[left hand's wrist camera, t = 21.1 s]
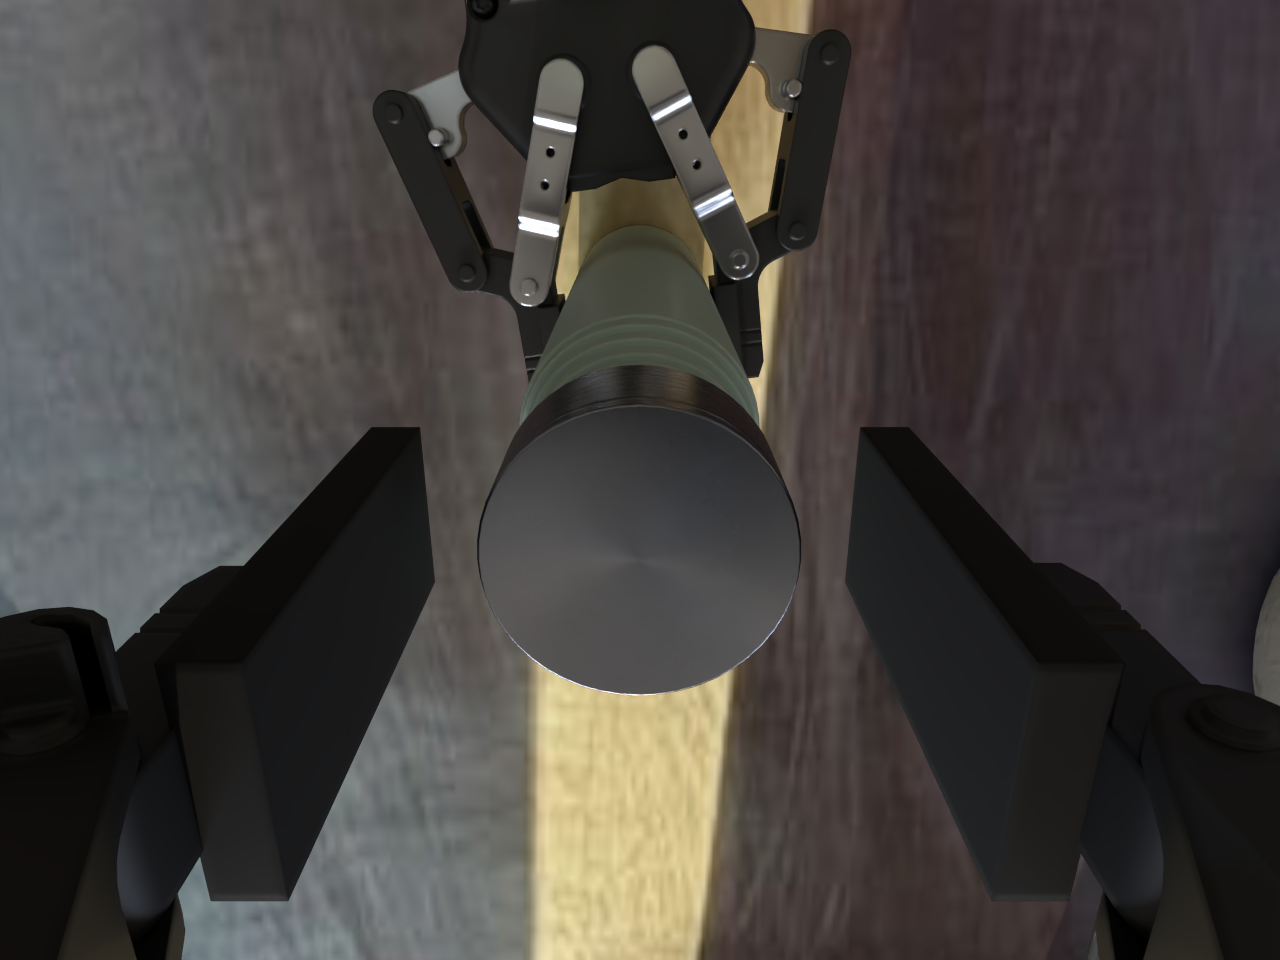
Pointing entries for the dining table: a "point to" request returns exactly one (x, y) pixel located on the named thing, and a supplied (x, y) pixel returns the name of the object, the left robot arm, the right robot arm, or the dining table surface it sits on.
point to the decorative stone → (1268, 646)
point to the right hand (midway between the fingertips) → (650, 399)
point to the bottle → (639, 319)
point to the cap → (639, 533)
